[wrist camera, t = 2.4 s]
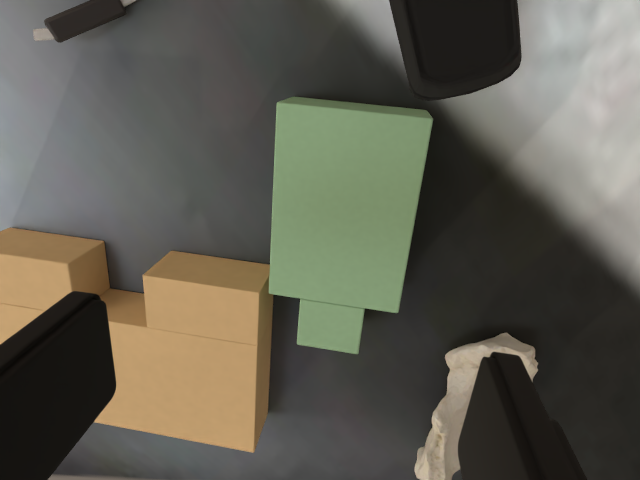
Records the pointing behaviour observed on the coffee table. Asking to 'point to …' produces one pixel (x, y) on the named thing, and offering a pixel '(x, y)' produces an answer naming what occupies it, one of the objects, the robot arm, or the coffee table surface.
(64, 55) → the coffee table surface
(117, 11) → the clip-on lamp
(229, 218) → the coffee table surface
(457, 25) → the controller
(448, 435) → the coral
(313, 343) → the green pad
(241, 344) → the sand pad
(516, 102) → the coffee table surface
